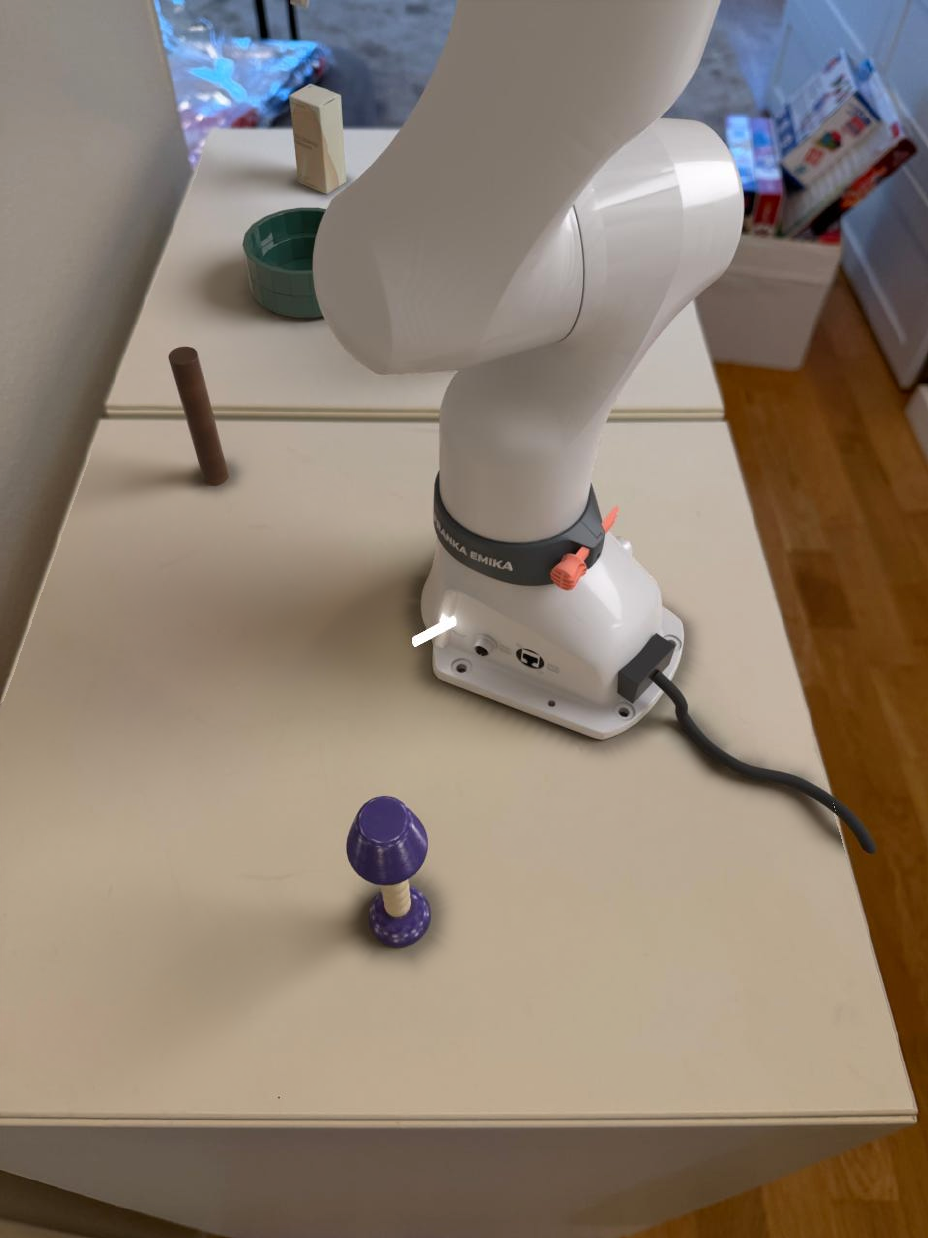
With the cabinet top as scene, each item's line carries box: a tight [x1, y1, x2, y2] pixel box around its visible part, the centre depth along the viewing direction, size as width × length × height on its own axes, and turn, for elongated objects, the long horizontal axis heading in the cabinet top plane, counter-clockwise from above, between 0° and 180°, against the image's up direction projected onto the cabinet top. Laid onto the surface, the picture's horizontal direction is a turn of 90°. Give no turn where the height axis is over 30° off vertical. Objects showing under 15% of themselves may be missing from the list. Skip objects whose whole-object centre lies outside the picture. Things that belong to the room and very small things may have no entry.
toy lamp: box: [345, 795, 432, 948], centre depth 56 cm, size 5×5×17 cm
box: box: [288, 83, 347, 195], centre depth 117 cm, size 5×4×11 cm
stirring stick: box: [167, 346, 230, 486], centre depth 83 cm, size 2×2×14 cm
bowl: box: [241, 207, 327, 318], centre depth 105 cm, size 13×13×6 cm
